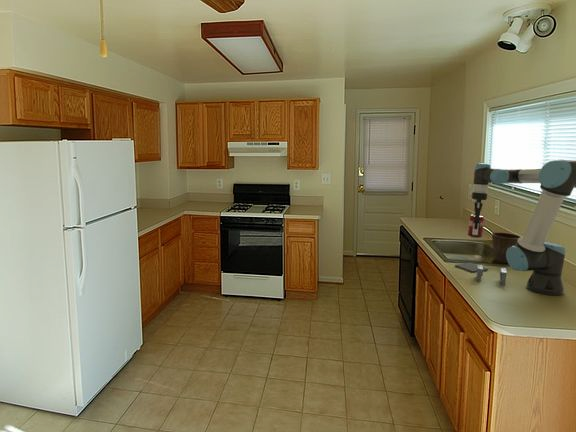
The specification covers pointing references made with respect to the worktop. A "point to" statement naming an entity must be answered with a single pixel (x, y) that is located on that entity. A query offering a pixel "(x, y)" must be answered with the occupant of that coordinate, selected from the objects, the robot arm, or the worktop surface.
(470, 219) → the soda can
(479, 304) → the worktop surface
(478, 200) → the robot arm
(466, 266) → the rubber mat
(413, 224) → the worktop surface
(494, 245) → the plant pot
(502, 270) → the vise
